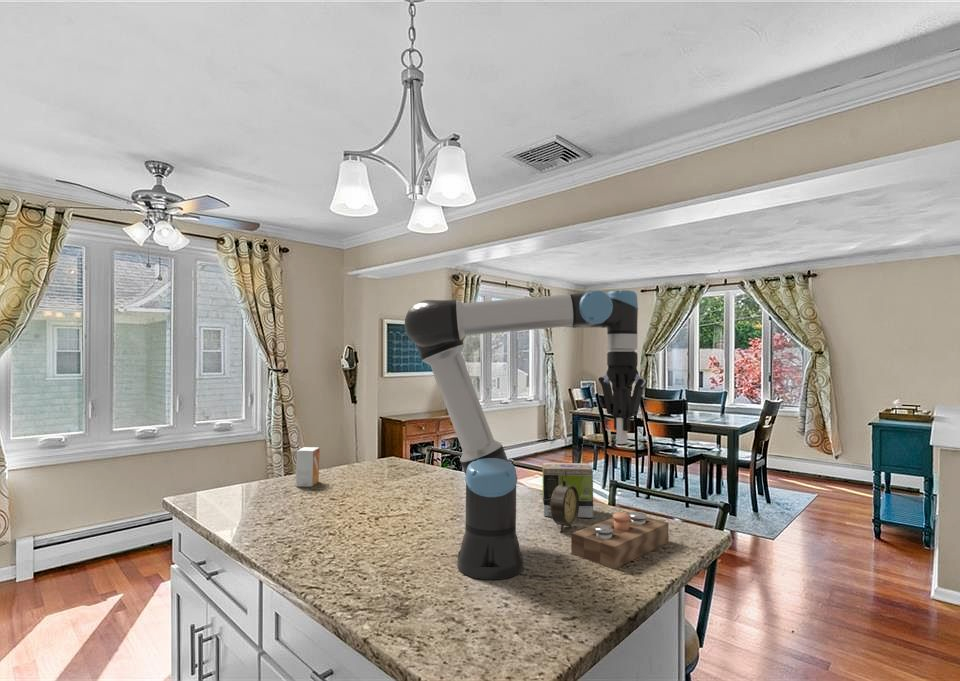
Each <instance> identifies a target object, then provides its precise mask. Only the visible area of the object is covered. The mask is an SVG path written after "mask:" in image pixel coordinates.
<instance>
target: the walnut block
mask: <svg viewBox="0 0 960 681" xmlns="http://www.w3.org/2000/svg"><path fill="white" fill-rule="evenodd" d="M624 513H625V514H629V513H630V512H624ZM597 525H607V526H610V527H612V528H613V533H612V538H610V539H608V540H606V539H603V538H599V537H596V532H595V526H597ZM570 534H571V540H570V543H571V546H570V549H571V551H570V552H571V553H570V554H571V555H573V556H576V557H579V558H582V559H585V560H588V561H589V562H593V563H596V564H598V565H600V566H601V565H602V566H603V567H604V566H605V567H607V568H610V569H613V570H616V569H618V568H619V567H621V566H623V565H625V564H628V563H629V562H631V561H634V560H636V559H637V558H640V557H641V556H643V555H645V554H648V553H649V552H652V551H653V550H655V549H657V548H659V547H661V546H663V545H665V544H667V543H669V522H667V521H664V520H660V519H655V518H652V517H649V516H647V519H646V520H645V524H643V525H639V524H635V523H631V522H630V521H629V531H627V532H622V531H619V530H615V529H614V519H613V517H611V518H608V519H605V520H604V521H600V522H598V523H596V524H593V525H589V526H587V527H584V528H582V529H579V530H577V531H576V530H575V531H574V532H571V533H570Z"/></svg>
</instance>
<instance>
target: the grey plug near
mask: <svg viewBox="0 0 960 681" xmlns="http://www.w3.org/2000/svg"><path fill="white" fill-rule="evenodd" d="M595 532H596V537H599V538H603V539H606V540H608V539H610V538H612V533H613V528H612V527H610V526H607V525H597V526H595Z"/></svg>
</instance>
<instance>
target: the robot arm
mask: <svg viewBox="0 0 960 681" xmlns="http://www.w3.org/2000/svg"><path fill="white" fill-rule="evenodd" d="M638 306H639V304H638V294H637V292H635V291H634V290H631V289H630V290H628V289H620V290H618V289H617V290H611V291H608V293H606V292H604V291H603V290H597V289H596V290H595V289H594V290H589V291H587V292H581V293H580V292H578V293H572V294H570V293H569V294H567V293H566V294H557V295H544V296H534V297H521V298H511V299H499V300H486V301H485V300H484V301H473V302H464V303H463V302H462V301H461V300H459V299H445V300H442V299H441V300H440V299H439V300H438V299H437V300H436V299H424V300H421V301H417V302H416V303H415V304H413V305H412V306H411V307H410V308H409V309H408V311H407V312H406V315H405V317H404V329H405V330H404V331H405V333H406V336H408V338H409V339H410V340H411V342H413V343H414V344H415V345H416V348H417V350H418V354H419V355H420V358H421V360H422V362H423V363H426V365H429V366H430V368H431V371H432V374H433V376H434V379H435V381H436V384H437V387H438V390H439V392H440V394H441V397H442V401H443V402H444V405H445V409H446V410H447V414H448V416H449V418H450V421H451V424H452V426H453V429H454V432H455V434H456V438H457V440H458V442H459V444H460V447H461V450H462V454H461V457H460V459H459V462H460V464H461V467H462V470H463V473H464V474H465V476H464V480H465V526H464V527H465V530H464V535H463V538H462V542H461V546H460V549H459V550H458V553H457V558H456V559H457V560H456V561H457V564H456V566H457V569H458V570H459V571H460V573H462V574H464V575H466V576H468V577H471V578H476V579H480V580H491V581H492V580H505V579H508V578H512V577H515V576H516V575H519V574H520V573H522V571H523V569H524V555H523V553H522V551H521V548H520V546H521V545H520V542H519V539H518V536H517V531H516V530H517V529H516V528H517V483H518V476H517V468H516V467H515V465H514V464H513V463H511V462H510V460H509V459H508V457H507V454H506V452H505V449H504V446H503V444H502V443H501V442H499V441H498V440H495V439H494V436H493V434H492V431H491V428H490V426H489V424H488V421H487V418H486V415H485V413H484V410H483V407H482V405H481V402H480V399H479V397H478V394H477V392H476V389H475V387H474V383H473V382H472V379H471V376H470V373H469V371H468V369H467V368H468V367H467V366H466V363H465V360H464V358H463V355H462V351H463V349H464V347H465V345H464V342H463V339H464V338H465V337H466V336H472V335H473V336H474V335H485V334H487V335H488V334H497V333H507V332H508V333H509V332H510V333H511V332H519V331H521V332H522V331H529V330H530V331H531V330H540V329H541V330H543V329H553V328H564V327H565V328H573V329H575V328H584V329H585V328H600V329H601V328H603V329H605V328H606V329H607V333H606V334H607V338H606V340H607V341H606V348H607V350H609V351H608V352H607V353H606V356H607V357H606V361H607V362H606V365H607V370H606V374H605V375H603V376H600V377H598V382H599V383H600V386H601V389H602V390H601V391H602V393H603V394H602V395H603V399H604V404H605V409H606V414H608V415H611V416H612V417H613V429H614V430H615V431H616V444H618V445H625V444H628V431H630V430H631V418H633V417H635V416H638V413H639V411H640V410H639V409H640V404H641V402H642V401H641V400H642V397H643V396H642V395H643V392H644V388H645V386H646V384H647V383H648V379H646V378H644V377H642V376H640V375H639V371H638V363H639V362H638V361H639V360H638V353H637V351H636V350H638V337H639V336H638V316H639V314H638V313H639V307H638ZM633 384H635V385H634V387H633Z"/></svg>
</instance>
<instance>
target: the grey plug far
mask: <svg viewBox="0 0 960 681" xmlns="http://www.w3.org/2000/svg"><path fill="white" fill-rule="evenodd" d="M629 515H630V516H631V520H630V522H631V523H635V524H639V525H643V524H645V520H646V519H647V517H648V515H647V514H646V513H643V512H640V511H639V512H638V511H632V512H629Z"/></svg>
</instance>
